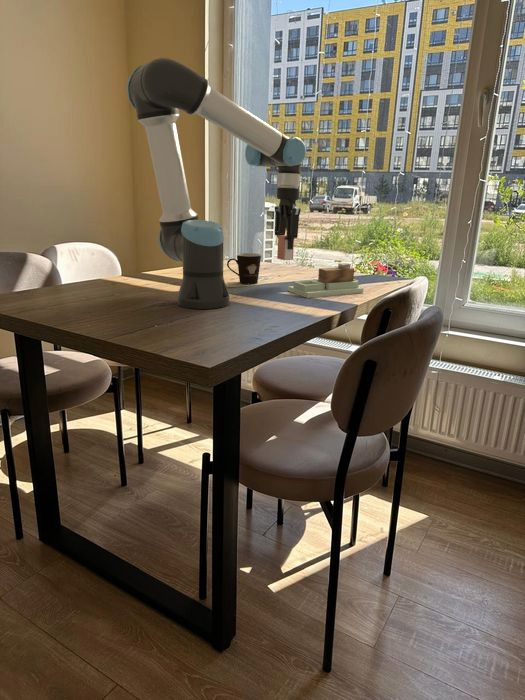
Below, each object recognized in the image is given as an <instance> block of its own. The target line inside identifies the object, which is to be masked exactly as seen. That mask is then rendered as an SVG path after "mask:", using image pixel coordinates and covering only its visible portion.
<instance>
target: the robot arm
mask: <svg viewBox="0 0 525 700" xmlns="http://www.w3.org/2000/svg"><path fill="white" fill-rule="evenodd" d="M126 95H127V99H128V101H129V102H130V103H129V104H130V105H131V106H132V107H133V108H134V109H135V113H136V116H137V121H138V123H139V124H141V125H142V126H143V127H144V129H145V134H146V139H147V142H148V143H147V144H148V146H149V147H148V148H149V153H150V157H151V161H152V162H151V163H152V167H153V170H154V171H153V173H154V178H155V182H156V187H157V192H158V196H159V201H160V205H161V209H162V210H161V211H162V215H161V216H160V218H159V220H158V221H159V225H160V230H159V234H158V244H159V247H160V250H161V251H162V252H163V253H164V255H165V256H167V257H168V258H170V259H172V260H174V261H176V262H182V280H181V283H180V286H179V288H178V289H179V290H178V293H177V296H176V297H177V305H178V306H180V307H182V308H183V307H184V308H186V309H187V308H188V309H196V310H197V309H198V310H207V309H208V310H210V309H219V308H220V309H221V308H223V307H227V306H229V305H230V295H229V291H228V287H227V284H226V282H225V281H226V280H225V278H224V241H225V236H224V229H223V226H222V225H221V224H219V223H218V222H215V221H212V220H205V219H204V220H203V219H199V216H198V213H197V212H195V211H194V210H193V209H192V207H191V206H192V205H191V200H190V194H189V189H188V184H187V179H186V171H185V167H184V162H183V161H184V160H183V156H182V151H181V145H180V139H179V135H178V134H179V133H178V128H177V124H176V123H177V121H178V119H179V117H180V111H183V112H185V113H186V114H188V115H190V116H194V115H197V116H199V117H201V118H203V119H204V120H206V121H208V122H209V123H211V124H213V125H214V126H216V127H218V128H220V129H221V130H222V131H224V132H226V133H228V134H230V135H231V136H233V137H234V138H236V139H238V140H239V141H241V142H242V143H245V144H246V146H245V154H244V157H245V161H246V163H247V164H248V165H250V166H254V167H266V168H277V183H276V184H277V186H278V187H277V189H276V199H277V200H279V204H278V205H275V206H274V213H275V214H274V236H276V237H277V239H278V235H287V238H285V251H284V259H292V249H293V240H294V241H295V239H298V235H299V234H298V233H299V223H300V222H299V221H300V216H301V215H300V214H301V211H302V209H301V207H297V201H299V199H300V192H301V191H300V189H299V187H300V186H301V172H302V170H301V169H302V163H303V162H304V160H305V158H306V154H307V148H306V145H305V142H304V141H303V140H302V139H301V138H300V137H297V136H287V135H285V134H284V133H282V132H280V131H279V130H277V129H275V127H273V126H271V125H270V124H268V123H267V122H265V121H263V120H262V119H261V118H259V117H258V116H256V115H254V114H253V113H252V112H250V111H248V110H246V109H245V108H244V107H242V106H240V105H238V103H236V102H235V101H233V100H232V99H230V98H228V97H227V96H225V95H224V94H223V93H221V92H219V91H217V90H216V89H215V88H213V87H211V86H210V84H209V80H208V79H206V78H205V77H204V76H202V75H201V74H199V73H197V72H196V71H194V70H193V69H191V68H190V67H188V66H186V65H185V64H183V63H182V62H179V61H177V60H175V59H172V58H168V57H158V58H154V59H152V60H151V61H149V62H146V63H145V64H141V65H140V66H138V67H136V68H135V69H134V71H133V72H132V73H131V74H130V76H129V77H128V79H127V82H126Z"/></svg>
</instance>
